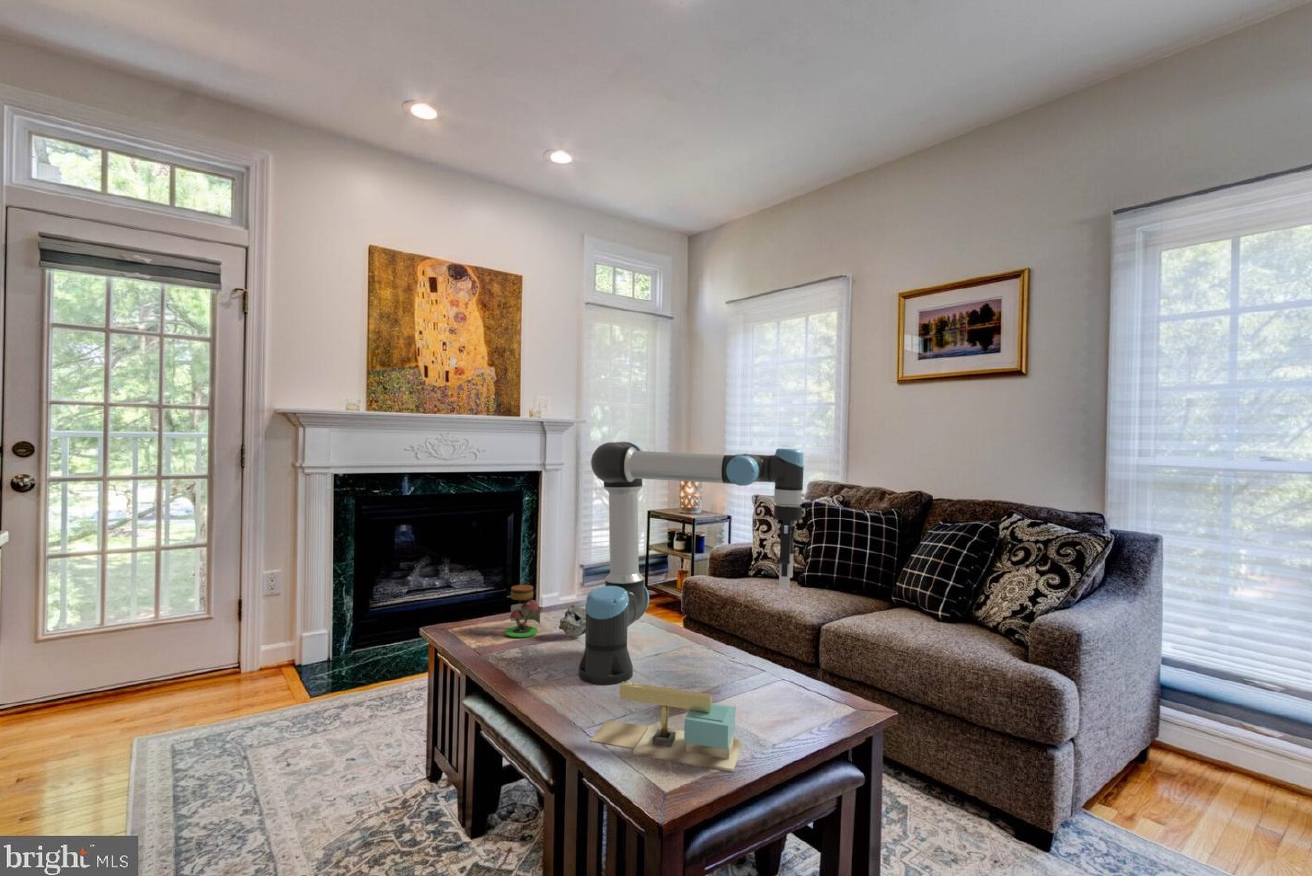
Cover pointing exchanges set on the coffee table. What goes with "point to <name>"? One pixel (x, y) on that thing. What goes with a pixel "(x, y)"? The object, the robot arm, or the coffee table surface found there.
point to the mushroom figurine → (523, 612)
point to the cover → (710, 726)
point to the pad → (619, 734)
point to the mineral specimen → (574, 621)
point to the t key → (666, 699)
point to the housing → (687, 750)
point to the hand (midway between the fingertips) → (785, 582)
